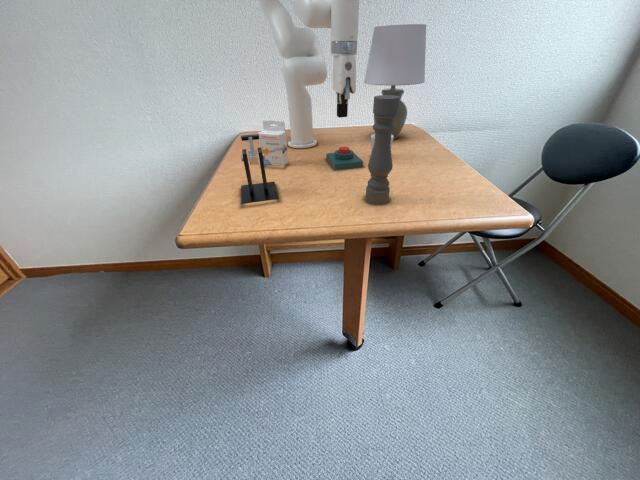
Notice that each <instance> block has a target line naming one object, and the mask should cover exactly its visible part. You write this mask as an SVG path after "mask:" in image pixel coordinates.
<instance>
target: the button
mask: <svg viewBox="0 0 640 480" xmlns="http://www.w3.org/2000/svg"><path fill="white" fill-rule="evenodd" d="M338 150H339V153H340V154H348V153H349V150H350V147H348V146H340V147H339V148H338Z"/></svg>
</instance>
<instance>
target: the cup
mask: <svg viewBox="0 0 640 480" xmlns="http://www.w3.org/2000/svg"><path fill="white" fill-rule="evenodd" d="M393 138H394V136H393V135H391V144H390V146H391V148H393V142H394V139H393ZM374 141H375V133H372V134H371V135H370V149H371V150H370V152H371V153H372V150H373V147H374ZM371 153H370V154H371Z"/></svg>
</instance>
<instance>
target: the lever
mask: <svg viewBox="0 0 640 480" xmlns="http://www.w3.org/2000/svg"><path fill="white" fill-rule="evenodd" d="M240 139H241V141H242V142H247V141H248V145H249V150H247V157H248V162H249V166H252V165H259V157H258V151H257V150H255V146H254V141H257V140H258V139H259V134H258V133H256V134H245V135H244V134H243V135H240ZM258 141H259V140H258Z"/></svg>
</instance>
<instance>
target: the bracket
mask: <svg viewBox="0 0 640 480" xmlns="http://www.w3.org/2000/svg"><path fill="white" fill-rule="evenodd" d="M241 151H242V153H241V154H242V155H241V156H240V157H241V159H240V160H241V162H243V165H244V170H245V171H244V172H245V175H246V180H247V184H241V185H240V205H243V204H251V203H259V202H267V201H268V202H269V201H274V200H275V201H276V200H279V199H280V198H279V194H278V189H277V186H276V182H275V181H267V176H266V167H265V165H264V161H263V159H265V156H264V154H262V149H261V148H260V147H257V156H258V162H259V166H260V172H261V173H260V174H261V180H262V182H259V183H258V182H257V183H253V179H252V173H251V168H250V162H249V156H248V150H247V149H246V148H243V149H242V150H241Z"/></svg>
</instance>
